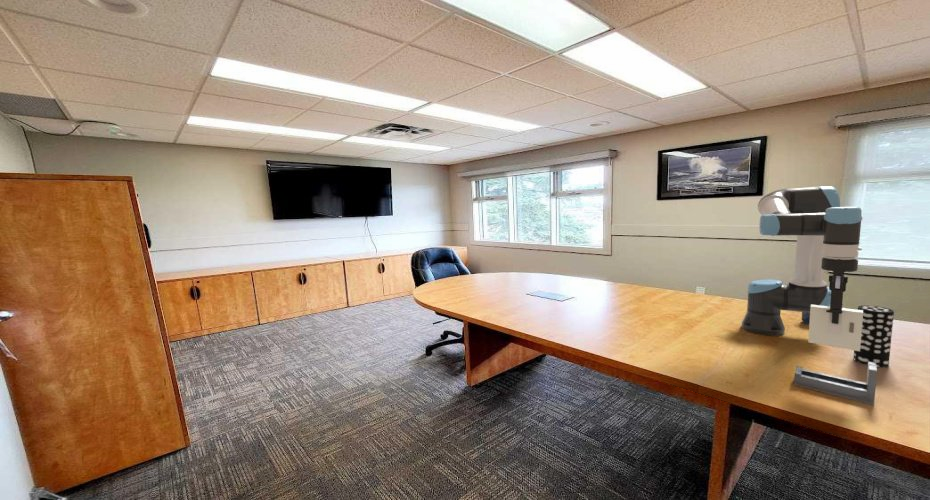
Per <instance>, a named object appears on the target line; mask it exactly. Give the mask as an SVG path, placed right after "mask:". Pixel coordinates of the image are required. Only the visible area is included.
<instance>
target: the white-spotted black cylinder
mask: <svg viewBox="0 0 930 500" xmlns="http://www.w3.org/2000/svg"><path fill="white" fill-rule="evenodd" d="M857 310H863V321H862V333H861V345H860V351H855V350H853V360H854V361H856V362H858V363H861V364H863V365H867V366H868V362H874V363H876V367H877V368H887V367H889V365H890V357H891V347H892V346H891V345H892V337H893V324H894V316H895V315H894V314H895V310H894V309H891V308H888V307H883V306H876V305H858V306H857Z"/></svg>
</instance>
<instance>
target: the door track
mask: <svg viewBox="0 0 930 500" xmlns="http://www.w3.org/2000/svg"><path fill="white" fill-rule="evenodd" d="M877 377H878V367H876V363H874V362H868V365H867V371H866V379H865V380H866V382H865V381H860V380H859V381H858V380H855V379H850V378H846V377H842V376H837V375H832V374H827V373H823V372H819V371H813V370H810V369H804V367H803V366H799V365H796V367H795V371H794V380H793V386H795V385H796V387H799V386H800V387H801V388H803V387H804V389H807V388H808V389H807V390H811V389H813V391H815V390H816V392H819V391H820V392H819V393H823V392H824V393H823V394H827V393H828V394H827V395H831V394H832V396H836V397H839V398H844V399H848V400H852V401H856V402H860V403H864V404H868V405H873V406H874V405H875V400H876V399H875V397H876V390H877V389H876V387H877ZM800 387H799V388H800Z"/></svg>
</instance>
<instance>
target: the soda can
mask: <svg viewBox="0 0 930 500" xmlns="http://www.w3.org/2000/svg"><path fill="white" fill-rule="evenodd" d="M801 321H802V322H803V323H804V324H807V325H809V323H810V313H807V312H801Z"/></svg>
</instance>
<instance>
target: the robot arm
mask: <svg viewBox="0 0 930 500" xmlns="http://www.w3.org/2000/svg"><path fill="white" fill-rule="evenodd" d="M839 195H840V194H839V192H838V190H837V188H836V187H834V186H826V185H825V186H810V187H809V186H806V187H797V188H796V187H795V188H794V187H793V188H792V187H791V188H781V189H777V190H774V191H771V192H770V193H768V194H765V195H764V196H763V197H762V198H760V200H759V201H758V204H757V209H758V212H759V213H760V215H761V216H760V218H759V234H760V235H761V236H771V237H774V236H777V237H778V236H781V237H782V236H796V246H795V248H796V249H795V260H794V262H795V263H794V273H793V277H792V278H790V279H789V280H788V283H787V284H786V283H783V282H782V281H781V280H779V279H757V280H752V281H751V282H749V283H748V289H747V291H746V292H747V305H746V309H747V310H746V313H745V315H744V316H743V317H744V318H743V319H742V321H741V328H742V329H743V330H744V331H747V332H751V333H753V334H758V335H762V336H763V335H764V336H782V335H783V336H784V335H785V331H786V329H785V328H786V327H785V325H784V322H783V320H782V316H781V311H786V312H787V311H789V312H797V313H802V312H807V313H810V307H811V304H813V305H821V306H830V309H829V310H826V312H829V322H828V332H829V333H835V334H841V322H842V308H846V307H844V306H843V298H844V293H845V292H846V291H847V283H848V281H849V276H848V275H845V274H844V273H854V272H857V271H858V266H859V260H858V257H859V251H862V250H863V248H862V247H860V240H861V227H862V220H863V216H862V208H861V207H859V206H841V199H840V196H839ZM824 271H828V272H831V271H832V274H828V282H829V284H828V283H827V282H826V281H825V280H824V279H823V274H824V273H823V272H824ZM828 285H829V286H828Z"/></svg>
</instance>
